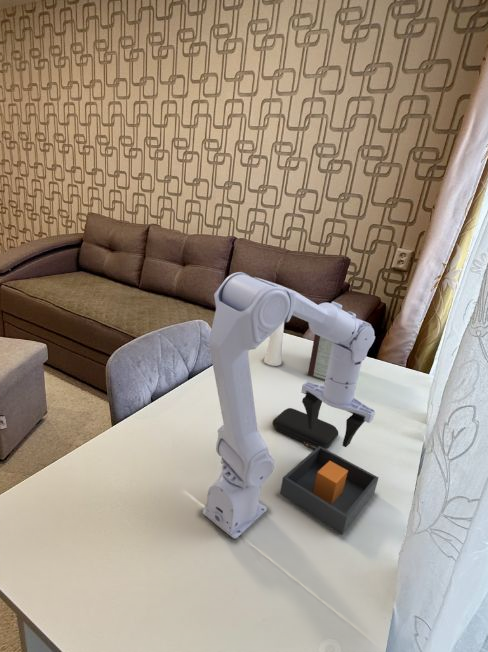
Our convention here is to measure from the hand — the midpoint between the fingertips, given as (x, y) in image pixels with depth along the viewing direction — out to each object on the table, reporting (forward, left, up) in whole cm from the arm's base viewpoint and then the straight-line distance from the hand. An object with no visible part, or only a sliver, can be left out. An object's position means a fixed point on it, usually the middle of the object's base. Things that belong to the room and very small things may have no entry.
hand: (328, 435), depth 81 cm
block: (-5, -4, -9) cm, 11 cm away
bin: (-5, -4, -10) cm, 11 cm away
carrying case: (+9, +10, -10) cm, 17 cm away
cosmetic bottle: (+26, +35, -1) cm, 44 cm away
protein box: (+46, +22, -10) cm, 52 cm away
